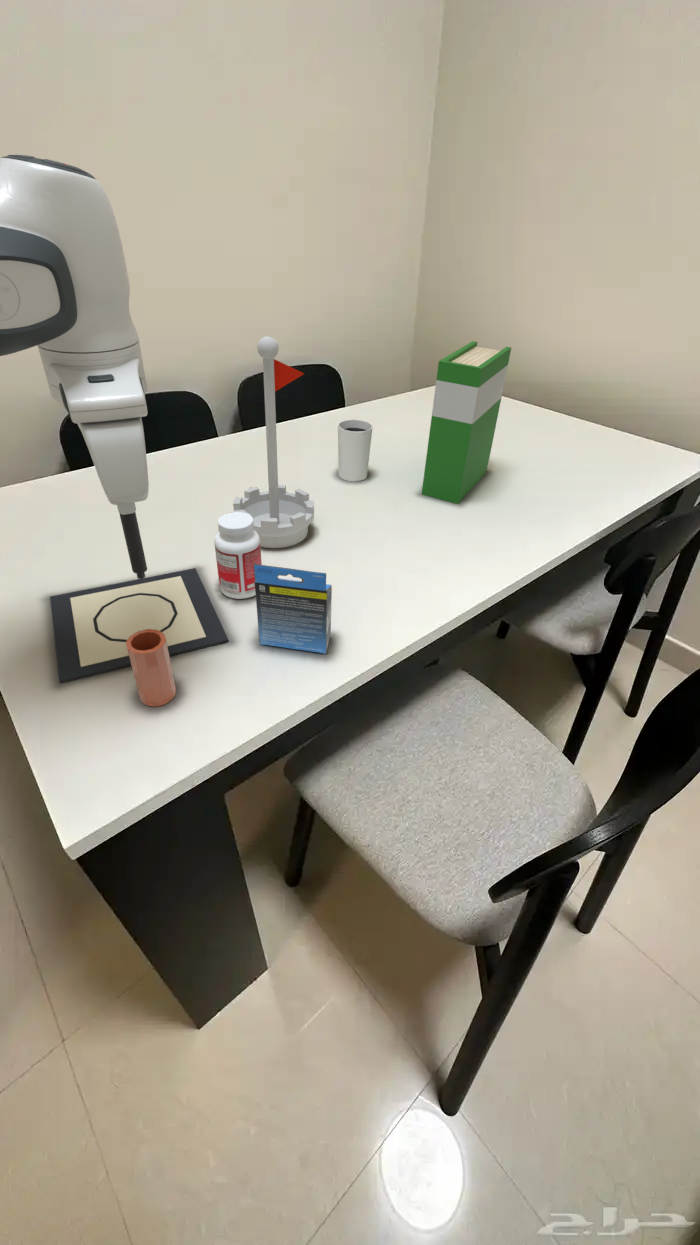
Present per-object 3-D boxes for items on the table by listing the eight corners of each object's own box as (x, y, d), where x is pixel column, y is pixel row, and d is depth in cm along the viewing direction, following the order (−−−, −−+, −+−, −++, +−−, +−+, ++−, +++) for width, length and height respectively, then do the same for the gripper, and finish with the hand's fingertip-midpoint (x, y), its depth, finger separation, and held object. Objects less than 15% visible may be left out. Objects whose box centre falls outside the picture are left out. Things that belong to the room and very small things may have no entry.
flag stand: (246, 556, 91) (230, 350, 72) (228, 518, 100) (210, 327, 81) (324, 544, 95) (328, 346, 76) (300, 508, 104) (298, 324, 86)
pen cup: (143, 710, 65) (129, 657, 60) (137, 687, 67) (123, 634, 62) (179, 700, 66) (168, 647, 61) (172, 678, 69) (161, 625, 64)
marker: (135, 582, 69) (110, 471, 61) (133, 574, 70) (108, 465, 62) (149, 579, 70) (127, 469, 61) (147, 572, 71) (124, 463, 62)
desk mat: (60, 683, 67) (58, 679, 67) (50, 598, 80) (49, 595, 80) (228, 641, 75) (228, 638, 74) (195, 570, 87) (195, 567, 87)
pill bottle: (260, 574, 87) (256, 507, 80) (265, 598, 82) (261, 529, 75) (218, 578, 86) (211, 510, 79) (220, 602, 81) (212, 532, 74)
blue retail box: (331, 636, 76) (334, 556, 69) (326, 655, 73) (328, 573, 66) (266, 626, 77) (261, 546, 70) (257, 645, 74) (252, 563, 67)
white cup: (354, 485, 113) (357, 434, 107) (329, 474, 116) (330, 425, 110) (376, 475, 117) (379, 426, 111) (351, 465, 120) (353, 417, 114)
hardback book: (453, 463, 123) (472, 341, 109) (486, 471, 121) (511, 347, 106) (421, 494, 111) (438, 361, 96) (458, 504, 108) (481, 368, 94)
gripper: (54, 349, 62) (85, 471, 70) (69, 411, 47) (106, 555, 56) (116, 345, 64) (139, 464, 73) (148, 403, 50) (172, 543, 58)
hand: (125, 505), depth 64 cm, fingers closed on marker, 2 cm apart
